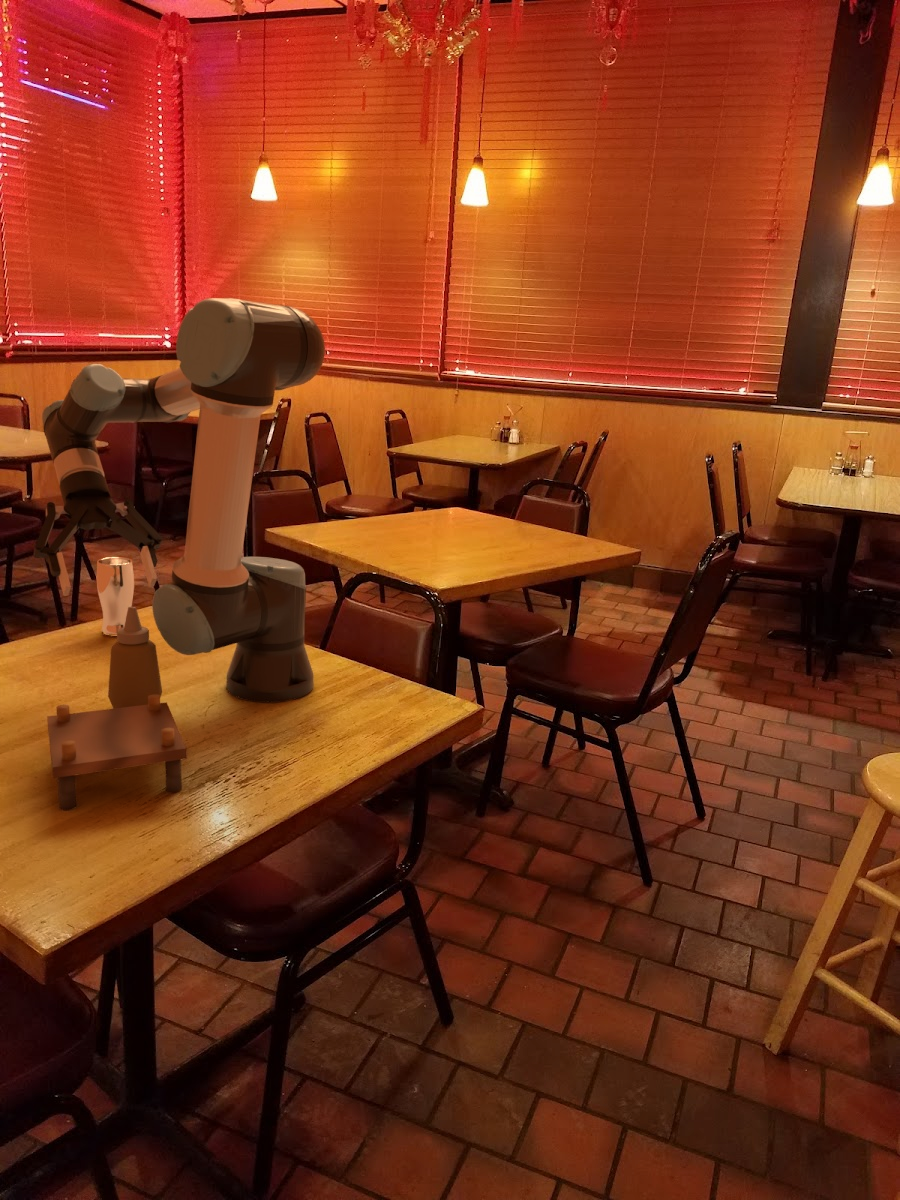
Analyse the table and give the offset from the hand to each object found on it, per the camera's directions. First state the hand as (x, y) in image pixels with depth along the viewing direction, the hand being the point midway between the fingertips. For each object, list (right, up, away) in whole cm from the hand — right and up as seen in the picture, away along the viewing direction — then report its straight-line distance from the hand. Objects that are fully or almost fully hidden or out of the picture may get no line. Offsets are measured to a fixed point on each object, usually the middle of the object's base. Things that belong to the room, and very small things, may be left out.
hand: (111, 587), depth 137 cm
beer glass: (-13, -9, +34) cm, 38 cm away
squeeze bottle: (+5, -21, -3) cm, 22 cm away
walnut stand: (+10, -26, -22) cm, 35 cm away
